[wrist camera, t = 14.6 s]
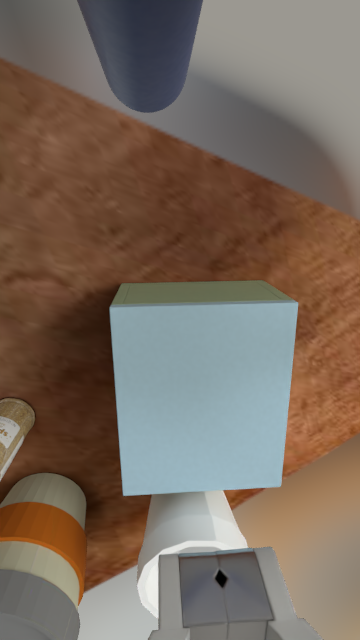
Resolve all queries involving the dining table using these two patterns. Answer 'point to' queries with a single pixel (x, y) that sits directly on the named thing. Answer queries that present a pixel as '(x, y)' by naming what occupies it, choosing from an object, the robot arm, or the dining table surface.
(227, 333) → the hatch
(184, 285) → the display box
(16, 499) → the reusable coffee cup
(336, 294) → the dining table surface
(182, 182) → the dining table surface
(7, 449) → the sprinkles bottle
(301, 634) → the robot arm
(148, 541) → the foam cup
